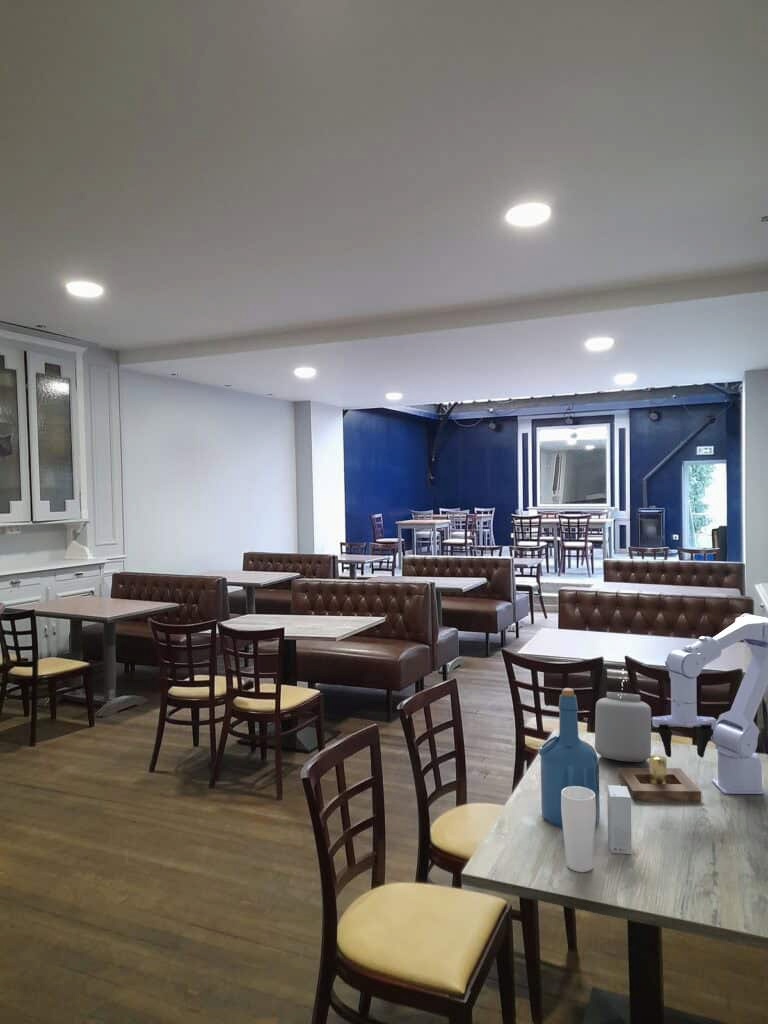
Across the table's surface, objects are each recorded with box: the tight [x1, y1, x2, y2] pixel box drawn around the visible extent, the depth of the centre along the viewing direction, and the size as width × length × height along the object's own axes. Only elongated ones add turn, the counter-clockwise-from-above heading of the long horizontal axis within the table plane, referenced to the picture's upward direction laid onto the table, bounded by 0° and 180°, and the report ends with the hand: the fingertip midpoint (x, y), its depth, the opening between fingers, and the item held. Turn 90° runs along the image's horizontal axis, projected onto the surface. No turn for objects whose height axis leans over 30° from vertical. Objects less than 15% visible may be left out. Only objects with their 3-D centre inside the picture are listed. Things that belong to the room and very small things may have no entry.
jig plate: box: [617, 767, 702, 803], centre depth 173 cm, size 16×14×2 cm
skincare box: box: [606, 784, 632, 855], centre depth 146 cm, size 6×4×12 cm
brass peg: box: [648, 754, 668, 784], centre depth 173 cm, size 4×4×8 cm
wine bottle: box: [537, 687, 601, 829], centre depth 159 cm, size 14×13×30 cm
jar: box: [594, 668, 652, 763], centre depth 193 cm, size 19×15×25 cm
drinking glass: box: [561, 786, 597, 873], centre depth 138 cm, size 7×7×15 cm
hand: (684, 755), depth 168 cm, fingers open, 7 cm apart
